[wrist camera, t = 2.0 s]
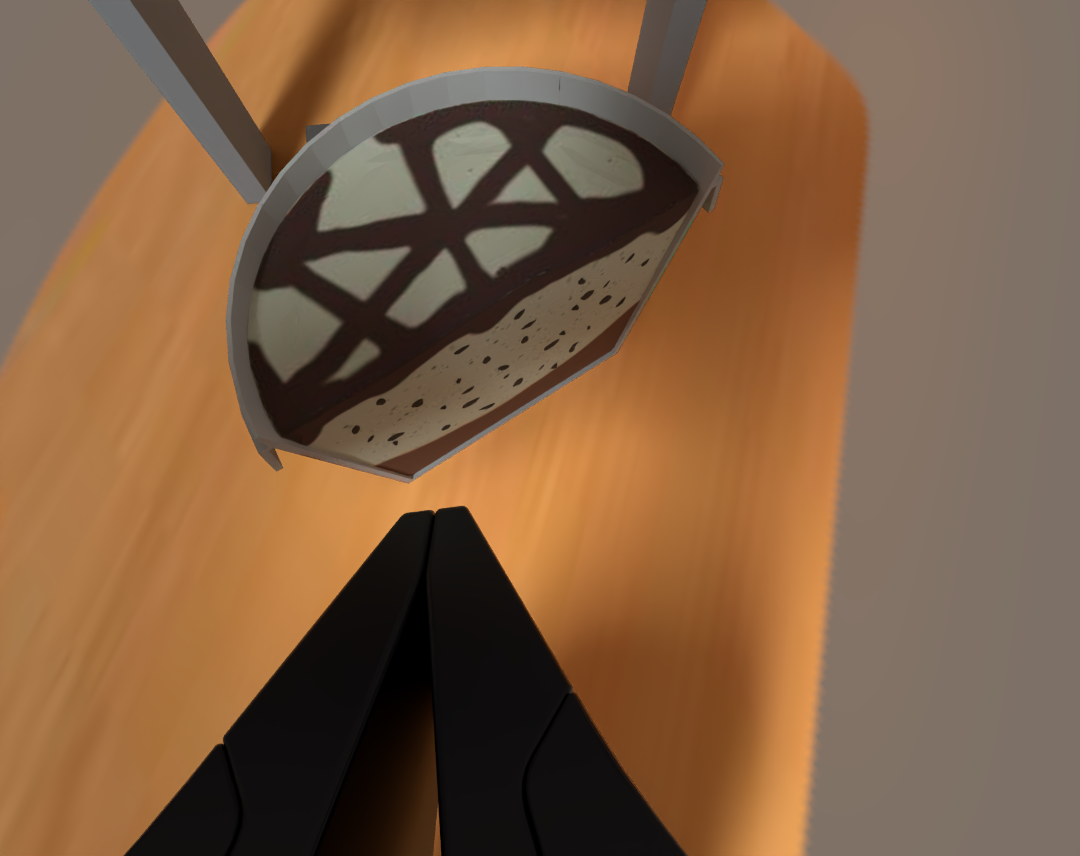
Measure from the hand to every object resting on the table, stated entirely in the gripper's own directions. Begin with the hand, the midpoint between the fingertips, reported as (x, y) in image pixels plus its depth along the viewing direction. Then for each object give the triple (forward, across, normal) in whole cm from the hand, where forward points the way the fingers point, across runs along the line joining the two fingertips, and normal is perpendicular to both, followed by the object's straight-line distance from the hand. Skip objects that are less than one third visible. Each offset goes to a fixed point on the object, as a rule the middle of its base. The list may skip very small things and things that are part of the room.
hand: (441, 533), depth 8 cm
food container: (+14, 0, +4) cm, 15 cm away
